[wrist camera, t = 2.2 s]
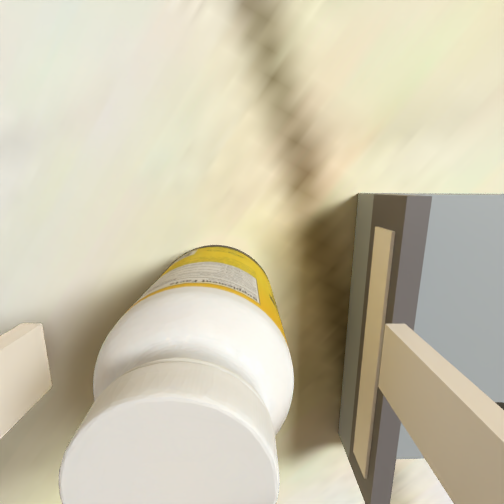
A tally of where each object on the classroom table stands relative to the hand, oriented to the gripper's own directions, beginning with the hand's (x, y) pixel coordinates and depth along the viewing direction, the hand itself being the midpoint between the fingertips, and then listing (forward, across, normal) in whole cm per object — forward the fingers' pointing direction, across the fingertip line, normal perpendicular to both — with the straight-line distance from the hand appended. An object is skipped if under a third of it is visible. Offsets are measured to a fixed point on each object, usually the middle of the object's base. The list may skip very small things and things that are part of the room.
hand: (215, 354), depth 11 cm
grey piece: (+7, +13, -2) cm, 15 cm away
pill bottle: (+7, -1, 0) cm, 7 cm away
